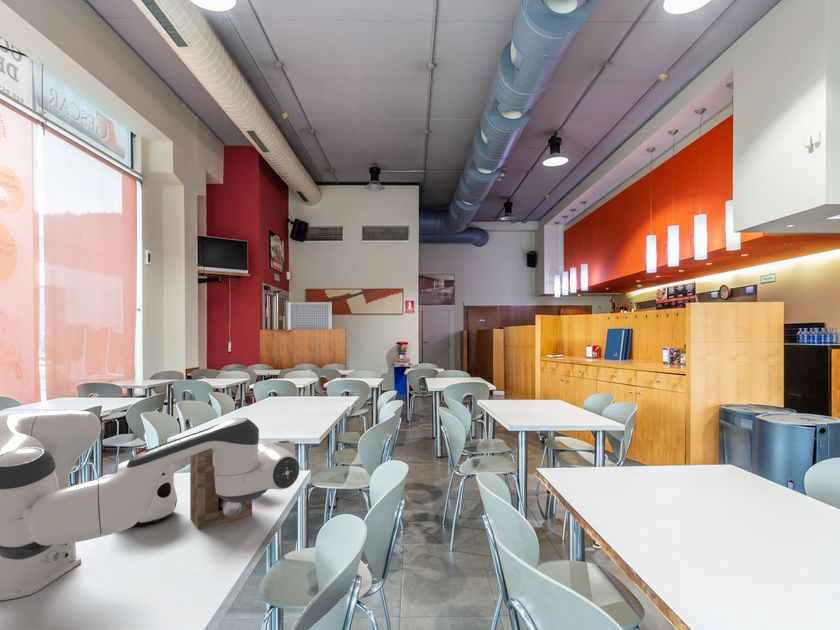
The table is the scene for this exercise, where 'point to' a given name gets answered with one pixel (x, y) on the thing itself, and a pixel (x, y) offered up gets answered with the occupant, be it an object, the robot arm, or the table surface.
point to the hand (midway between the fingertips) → (245, 448)
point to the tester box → (208, 493)
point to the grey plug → (230, 508)
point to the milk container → (160, 497)
